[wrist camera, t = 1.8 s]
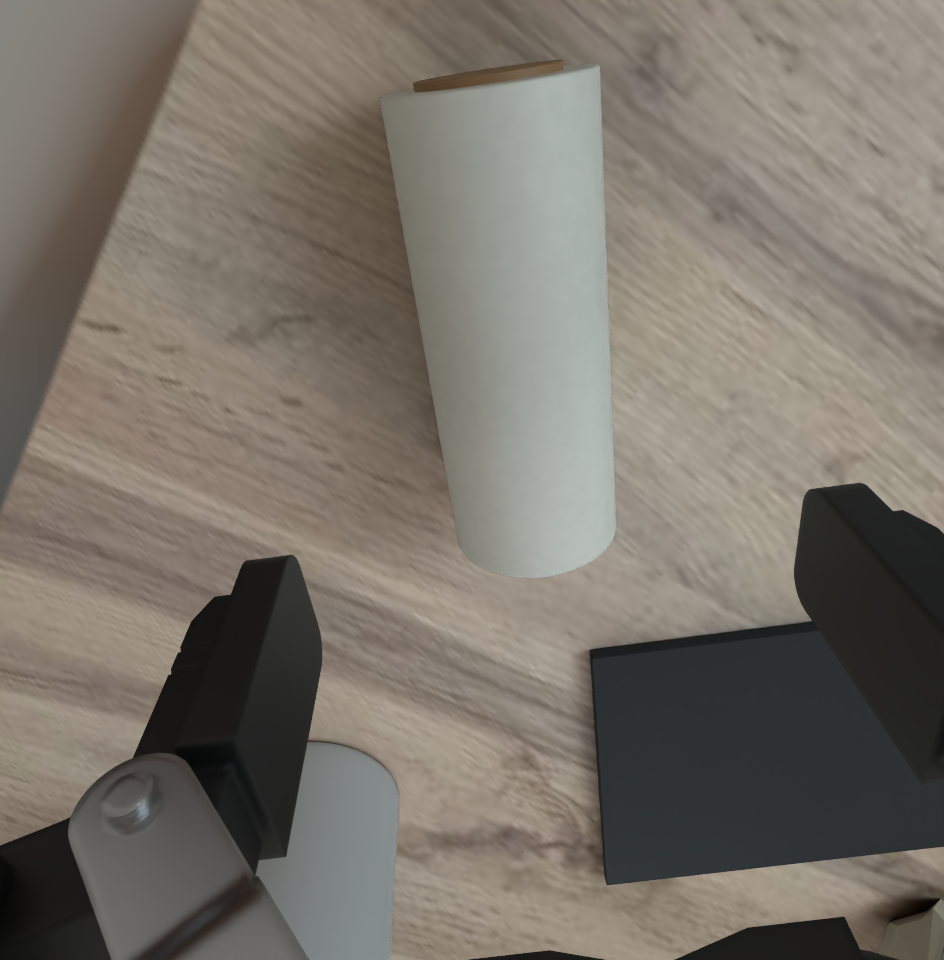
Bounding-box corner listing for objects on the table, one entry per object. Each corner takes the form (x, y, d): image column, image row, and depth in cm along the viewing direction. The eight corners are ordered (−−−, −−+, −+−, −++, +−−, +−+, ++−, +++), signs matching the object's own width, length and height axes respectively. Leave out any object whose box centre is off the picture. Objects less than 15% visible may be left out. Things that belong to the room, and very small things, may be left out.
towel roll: (578, 54, 20) (621, 54, 16) (599, 482, 28) (633, 571, 23) (385, 84, 21) (368, 93, 16) (456, 501, 28) (460, 594, 23)
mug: (420, 757, 36) (413, 1010, 26) (376, 855, 40) (357, 1105, 30) (171, 711, 33) (65, 971, 24) (152, 820, 37) (55, 1079, 28)
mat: (1040, 592, 32) (1050, 601, 31) (953, 835, 41) (960, 845, 40) (589, 649, 32) (592, 659, 32) (604, 875, 42) (606, 885, 41)
